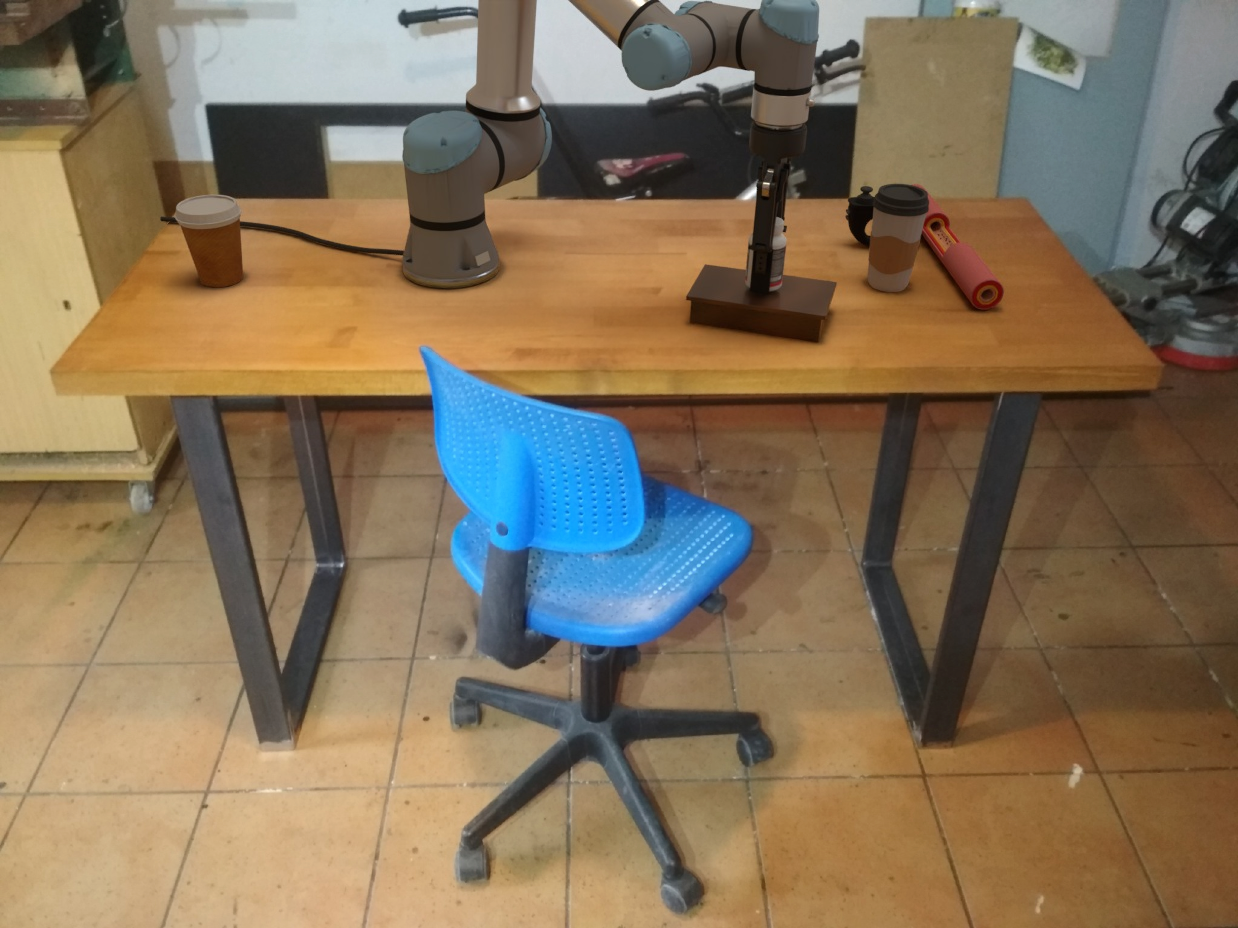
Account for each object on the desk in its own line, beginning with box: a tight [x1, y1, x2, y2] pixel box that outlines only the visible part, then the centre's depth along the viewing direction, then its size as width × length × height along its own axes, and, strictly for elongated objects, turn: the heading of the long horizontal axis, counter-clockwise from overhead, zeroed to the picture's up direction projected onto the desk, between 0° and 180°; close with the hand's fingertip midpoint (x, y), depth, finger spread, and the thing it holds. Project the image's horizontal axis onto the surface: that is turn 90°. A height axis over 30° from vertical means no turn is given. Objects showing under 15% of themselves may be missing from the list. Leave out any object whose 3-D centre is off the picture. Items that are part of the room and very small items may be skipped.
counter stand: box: [685, 263, 838, 343], centre depth 156 cm, size 20×12×4 cm, turn 73°
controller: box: [844, 185, 875, 247], centre depth 178 cm, size 4×12×10 cm, turn 95°
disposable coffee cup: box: [174, 194, 244, 288], centre depth 162 cm, size 10×10×12 cm
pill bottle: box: [745, 217, 788, 291], centre depth 152 cm, size 5×5×10 cm
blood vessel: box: [911, 183, 1005, 311], centre depth 176 cm, size 42×5×5 cm, turn 2°
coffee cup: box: [866, 183, 929, 293], centre depth 163 cm, size 8×8×15 cm
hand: (763, 283), depth 154 cm, fingers closed on pill bottle, 5 cm apart
